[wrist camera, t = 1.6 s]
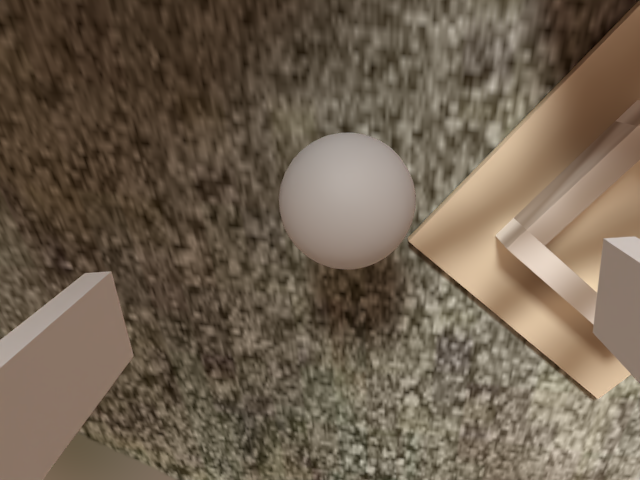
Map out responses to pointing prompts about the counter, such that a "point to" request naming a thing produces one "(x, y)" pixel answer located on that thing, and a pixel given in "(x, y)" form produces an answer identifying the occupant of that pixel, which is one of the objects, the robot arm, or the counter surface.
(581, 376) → the socket base
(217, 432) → the counter surface
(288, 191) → the lightbulb
